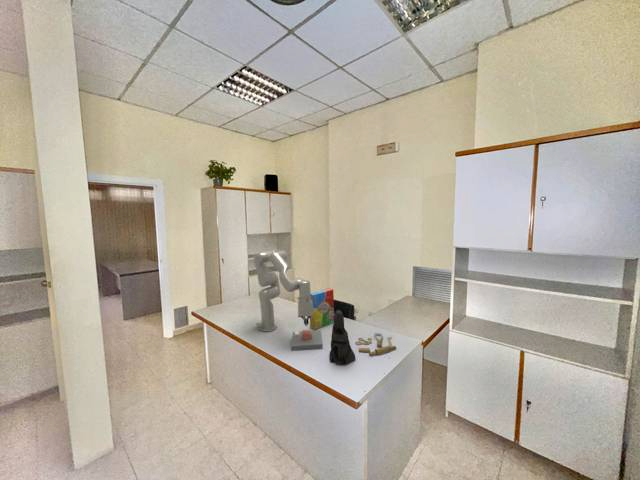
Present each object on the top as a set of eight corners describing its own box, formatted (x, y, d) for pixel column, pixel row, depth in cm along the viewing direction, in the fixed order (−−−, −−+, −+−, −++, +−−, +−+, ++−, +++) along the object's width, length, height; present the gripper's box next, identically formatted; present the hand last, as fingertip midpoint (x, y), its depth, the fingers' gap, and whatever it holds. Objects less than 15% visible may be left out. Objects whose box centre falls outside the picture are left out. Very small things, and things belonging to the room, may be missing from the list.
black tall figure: (339, 368, 141) (337, 316, 138) (324, 358, 152) (322, 309, 149) (357, 359, 149) (355, 310, 146) (341, 350, 160) (340, 304, 158)
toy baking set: (377, 330, 187) (377, 326, 187) (407, 343, 167) (407, 338, 167) (345, 345, 167) (345, 340, 167) (376, 362, 147) (375, 356, 147)
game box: (314, 330, 190) (312, 295, 187) (309, 328, 194) (308, 293, 191) (334, 322, 203) (333, 289, 200) (330, 320, 207) (329, 287, 204)
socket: (291, 350, 162) (291, 344, 162) (293, 335, 182) (292, 330, 182) (322, 348, 163) (322, 343, 163) (320, 334, 183) (320, 329, 183)
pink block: (302, 344, 170) (302, 334, 169) (302, 340, 176) (302, 330, 175) (311, 343, 170) (311, 333, 169) (311, 339, 176) (310, 329, 175)
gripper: (293, 301, 166) (295, 328, 168) (316, 299, 167) (317, 326, 168) (294, 297, 173) (295, 323, 175) (316, 296, 174) (317, 322, 176)
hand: (306, 324), depth 172 cm, fingers closed
